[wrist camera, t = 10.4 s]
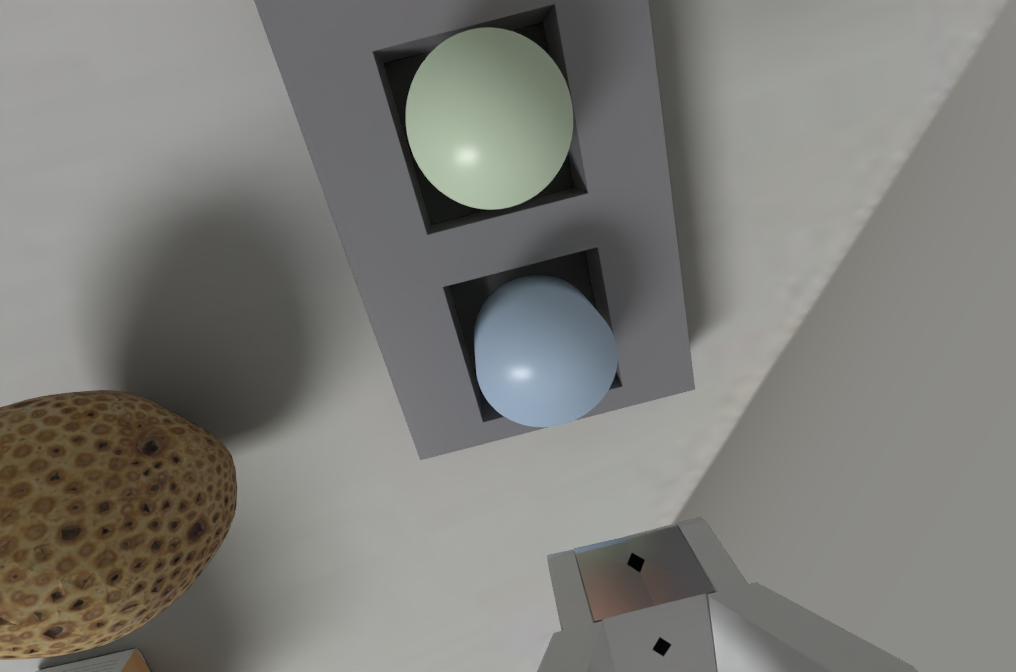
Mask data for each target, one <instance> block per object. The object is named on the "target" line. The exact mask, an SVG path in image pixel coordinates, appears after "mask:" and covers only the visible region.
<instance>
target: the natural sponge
mask: <svg viewBox="0 0 1016 672" xmlns="http://www.w3.org/2000/svg"><path fill="white" fill-rule="evenodd" d="M236 499H237V482H236V471H235V466H234V462H233V459H232V456H231V454H230V453H229V451H228V450H227V448H226V447H225V446H224V445H223V444H222V443H221V442H220V441H219V440H218V439H217V438H216V437H214V436H213V435H212V434H211V433H209V432H208V431H206V430H205V429H203V428H201V427H200V426H198V425H196V424H194V423H192V422H190V421H188V420H186V419H184V418H182V417H180V416H179V415H177V414H175V413H173V412H171V411H169V410H167V409H165V408H164V407H162V406H161V405H159V404H157V403H155V402H154V401H152V400H150V399H147V398H144V397H141V396H138V395H134V394H130V393H124V392H118V391H106V390H100V391H84V392H72V393H62V394H55V395H48V396H43V397H38V398H33V399H28V400H24V401H21V402H17V403H14V404H11V405H7V406H4V407H1V408H0V659H2V660H14V659H31V658H45V657H55V656H60V655H65V654H70V653H75V652H79V651H84V650H88V649H92V648H96V647H100V646H103V645H106V644H108V643H110V642H113V641H115V640H117V639H119V638H121V637H123V636H125V635H127V634H129V633H131V632H133V631H135V630H136V629H138V628H140V627H142V626H143V625H145V624H146V623H147V622H149V621H150V620H151V619H153V618H154V617H155V616H157V615H158V614H159V613H161V612H162V611H163V610H165V609H166V608H167V607H169V606H170V605H171V604H172V603H174V602H175V601H176V600H177V599H178V598H179V597H180V596H181V595H182V594H184V593H185V592H186V591H187V590H188V588H189V587H190V586H191V585H192V584H193V583H194V581H195V580H196V579H197V577H198V576H199V575H200V574H201V572H202V571H203V570H204V569H205V568H206V566H207V565H208V564H209V562H210V561H211V559H212V558H213V556H214V554H215V553H216V552H217V550H218V549H219V547H220V546H221V544H222V542H223V541H224V539H225V537H226V535H227V533H228V531H229V529H230V526H231V523H232V520H233V518H234V515H235V510H236Z"/></svg>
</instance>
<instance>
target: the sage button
mask: <svg viewBox="0 0 1016 672" xmlns="http://www.w3.org/2000/svg"><path fill="white" fill-rule="evenodd" d="M406 130H407V136H408V140H409V145H410V148H411V150H412V153H413V156H414V158H415V160H416V162H417V164H418V166H419V167H420V169H421V170H422V172H423V173H424V175H425V176H426V177H427V179H428V180H429V181H430V182H431V183H432V184H433V185H434V186H435V187H436V188H437V189H438V190H439V191H440V192H442V193H443V194H445V195H446V196H447V197H449V198H451V199H453V200H454V201H456V202H458V203H461V204H463V205H466V206H469V207H473V208H478V209H488V210H492V209H503V208H509V207H512V206H515V205H518V204H521V203H523V202H525V201H527V200H529V199H531V198H532V197H534V196H535V195H537V194H538V193H539V192H541V191H542V190H543V189H544V188H545V187H546V186H547V185H548V184H549V183H550V182H551V181H552V180H553V179H554V177H555V176H556V174H557V173H558V171H559V170H560V168H561V166H562V164H563V163H564V161H565V158H566V156H567V153H568V151H569V147H570V143H571V139H572V133H573V107H572V101H571V97H570V92H569V89H568V87H567V84H566V81H565V79H564V77H563V75H562V73H561V71H560V69H559V68H558V66H557V65H556V64H555V62H554V61H553V59H552V58H551V57H550V56H549V55H548V54H547V53H546V52H545V51H544V50H543V49H542V48H541V47H540V46H538V45H537V44H536V43H535V42H533V41H531V40H530V39H528V38H527V37H525V36H523V35H520V34H518V33H516V32H513V31H509V30H506V29H500V28H492V27H490V28H476V29H471V30H467V31H464V32H461V33H458V34H456V35H454V36H452V37H450V38H448V39H447V40H445V41H444V42H442V43H441V44H440V45H438V46H437V47H436V48H435V49H434V50H433V51H432V52H431V53H430V54H429V55H428V56H427V57H426V59H425V60H424V61H423V63H422V64H421V66H420V67H419V69H418V71H417V72H416V74H415V77H414V79H413V81H412V84H411V86H410V90H409V94H408V98H407V105H406Z"/></svg>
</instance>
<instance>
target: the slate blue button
mask: <svg viewBox="0 0 1016 672" xmlns="http://www.w3.org/2000/svg"><path fill="white" fill-rule="evenodd" d="M474 347H475V361H476V375H477V379H478V383H479V386H480V389H481V391H482V393H483V395H484V396H485V398H486V400H487V401H488V402H489V404H490V405H491V406H492V407H493V408H494V409H495V410H496V411H497V412H499V413H500V414H501V415H503V416H504V417H506V418H508V419H509V420H511V421H514V422H516V423H519V424H522V425H526V426H532V427H553V426H558V425H563V424H566V423H569V422H572V421H574V420H576V419H578V418H580V417H582V416H583V415H585V414H586V413H588V412H589V411H590V410H592V409H593V408H594V407H595V406H596V405H597V404H598V403H599V402H600V401H601V400H602V399H603V397H604V396H605V395H606V393H607V392H608V390H609V388H610V386H611V384H612V382H613V380H614V377H615V373H616V369H617V361H618V353H617V345H616V341H615V338H614V335H613V333H612V331H611V329H610V327H609V325H608V324H607V322H606V321H605V320H604V319H603V317H602V316H601V315H600V314H599V313H598V311H597V310H596V309H595V308H594V307H593V305H592V304H591V303H590V302H589V301H588V300H587V298H586V297H585V296H584V295H583V294H582V292H580V291H579V290H578V289H577V288H576V287H575V286H573V285H572V284H570V283H569V282H567V281H565V280H563V279H560V278H557V277H554V276H549V275H539V274H538V275H527V276H522V277H519V278H516V279H513V280H511V281H509V282H507V283H505V284H503V285H502V286H500V287H499V288H498V289H496V290H495V291H494V292H493V293H492V294H491V295H490V296H489V297H488V298H487V300H486V301H485V302H484V304H483V305H482V307H481V309H480V311H479V313H478V316H477V318H476V322H475V327H474Z"/></svg>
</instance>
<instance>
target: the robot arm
mask: <svg viewBox="0 0 1016 672" xmlns="http://www.w3.org/2000/svg"><path fill="white" fill-rule="evenodd" d="M547 559H548V566H549V571H550V576H551V581H552V586H553V591H554V596H555V601H556V606H557V611H558V615H559V620H560V625H561V630H562V631H560V632H556V633H554V634H553V636H552V638H551V641H550V643H549V645H548V648H547V650H546V652H545V655H544V657H543V659H542V662H541V664H540V666H539V669H538V671H537V672H918V671H917V670H916V669H915V668H914V667H913V666H912V665H910V664H908V663H906V662H904V661H903V660H901V659H899V658H897V657H895V656H893V655H891V654H889V653H888V652H886V651H884V650H882V649H880V648H878V647H876V646H874V645H873V644H871V643H869V642H867V641H865V640H863V639H861V638H860V637H858V636H856V635H854V634H852V633H850V632H848V631H846V630H845V629H843V628H841V627H839V626H837V625H835V624H834V623H832V622H830V621H828V620H826V619H824V618H822V617H820V616H819V615H817V614H815V613H813V612H811V611H809V610H807V609H805V608H803V607H802V606H800V605H798V604H796V603H794V602H793V601H791V600H789V599H787V598H785V597H783V596H781V595H779V594H778V593H775V592H774V591H772V590H770V589H768V588H766V587H765V586H763V585H761V584H759V583H757V582H756V583H751V584H748V583H747V581H746V580H745V578H744V577H743V576H742V574H741V573H740V571H739V570H738V568H737V566H736V565H735V564H734V562H733V560H732V559H731V558H730V556H729V555H728V553H727V552H726V550H725V549H724V547H723V546H722V544H721V542H720V541H719V540H718V538H717V536H716V535H715V533H714V532H713V531H712V529H711V528H710V526H709V524H708V523H707V521H706V520H705V519H703V518H702V517H698V518H694V519H690V520H686V521H683V522H679V523H675V525H674V524H672V525H668V526H664V527H660V528H657V529H653V530H649V531H645V532H641V533H637V534H634V535H630V536H626V537H623V538H619V539H614V540H610V541H605V542H601V543H597V544H592V545H588V546H583V547H579V548H574V551H573V550H569V551H564V552H559V553H555V554H550V555H547Z"/></svg>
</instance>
